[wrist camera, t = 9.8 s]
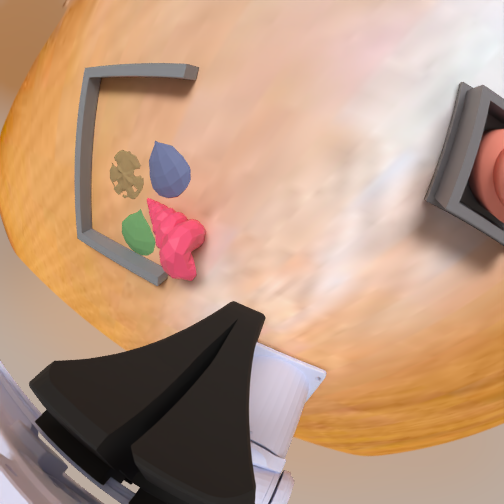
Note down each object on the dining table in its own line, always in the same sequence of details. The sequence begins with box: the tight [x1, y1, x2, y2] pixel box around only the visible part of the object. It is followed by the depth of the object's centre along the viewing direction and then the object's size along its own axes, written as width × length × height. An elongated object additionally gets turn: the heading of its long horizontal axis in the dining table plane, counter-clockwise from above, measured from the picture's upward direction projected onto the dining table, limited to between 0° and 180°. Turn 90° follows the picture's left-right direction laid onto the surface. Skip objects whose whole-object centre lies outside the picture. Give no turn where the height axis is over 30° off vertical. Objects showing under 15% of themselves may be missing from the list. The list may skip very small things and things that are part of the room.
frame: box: [75, 63, 199, 286], centre depth 21 cm, size 18×12×2 cm, turn 166°
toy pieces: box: [110, 141, 206, 281], centre depth 20 cm, size 12×11×4 cm
